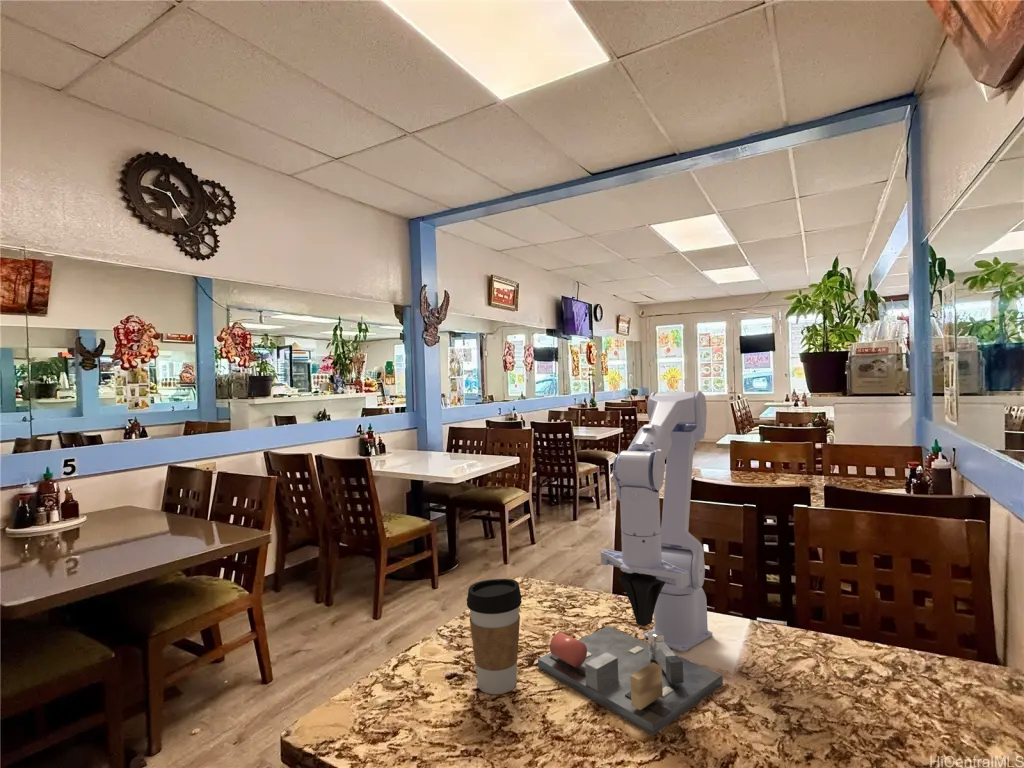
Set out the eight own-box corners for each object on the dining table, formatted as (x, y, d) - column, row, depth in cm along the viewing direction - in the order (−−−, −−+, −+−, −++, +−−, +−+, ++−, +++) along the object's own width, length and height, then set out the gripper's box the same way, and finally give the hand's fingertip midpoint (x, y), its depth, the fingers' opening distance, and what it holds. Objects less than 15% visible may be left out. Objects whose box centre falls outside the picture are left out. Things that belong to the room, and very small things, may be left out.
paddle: (654, 691, 73) (653, 662, 73) (662, 695, 72) (661, 666, 72) (631, 705, 70) (630, 675, 70) (640, 710, 69) (638, 679, 69)
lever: (646, 653, 83) (645, 631, 83) (661, 652, 84) (660, 630, 84) (669, 684, 74) (668, 660, 74) (685, 683, 75) (684, 658, 75)
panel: (608, 634, 95) (607, 608, 95) (724, 685, 77) (722, 653, 77) (538, 668, 84) (537, 638, 84) (654, 736, 67) (652, 699, 67)
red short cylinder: (566, 651, 85) (565, 629, 85) (587, 662, 81) (586, 639, 81) (550, 659, 83) (549, 636, 83) (571, 670, 79) (570, 646, 79)
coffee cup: (519, 702, 75) (515, 597, 75) (462, 697, 77) (459, 594, 77) (529, 670, 83) (525, 576, 83) (477, 667, 85) (474, 574, 85)
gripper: (586, 527, 81) (589, 615, 81) (666, 547, 70) (670, 650, 70) (615, 519, 85) (619, 602, 85) (696, 536, 74) (699, 632, 74)
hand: (644, 623), depth 78 cm, fingers closed
